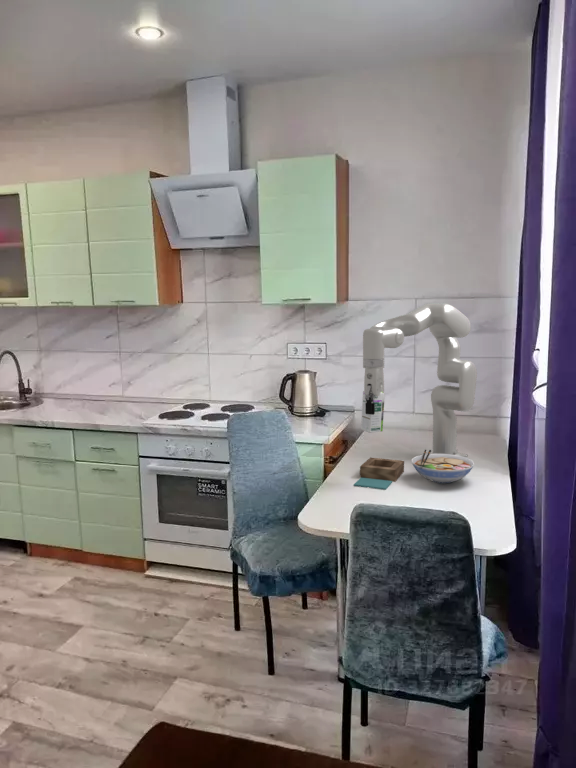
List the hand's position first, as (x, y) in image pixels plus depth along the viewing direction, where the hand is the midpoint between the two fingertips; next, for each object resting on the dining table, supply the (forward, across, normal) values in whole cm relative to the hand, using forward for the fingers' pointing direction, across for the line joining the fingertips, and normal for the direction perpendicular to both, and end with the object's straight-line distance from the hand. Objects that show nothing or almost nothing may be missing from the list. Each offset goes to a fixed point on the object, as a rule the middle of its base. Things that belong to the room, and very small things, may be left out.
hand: (373, 411), depth 216 cm
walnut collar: (+27, +12, 0) cm, 30 cm away
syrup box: (+7, 0, +1) cm, 7 cm away
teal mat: (+27, 0, 0) cm, 27 cm away
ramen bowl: (+27, +13, -22) cm, 38 cm away
